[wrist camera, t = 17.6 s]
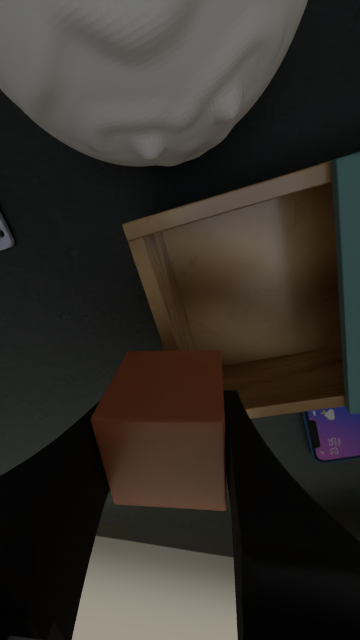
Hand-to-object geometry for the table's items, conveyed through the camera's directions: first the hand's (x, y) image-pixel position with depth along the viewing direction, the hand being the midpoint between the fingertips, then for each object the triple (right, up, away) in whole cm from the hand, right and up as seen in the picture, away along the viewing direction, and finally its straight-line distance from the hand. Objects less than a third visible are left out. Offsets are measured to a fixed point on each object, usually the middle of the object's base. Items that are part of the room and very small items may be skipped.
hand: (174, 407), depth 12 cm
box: (+6, +6, +7) cm, 11 cm away
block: (0, +1, +1) cm, 1 cm away
